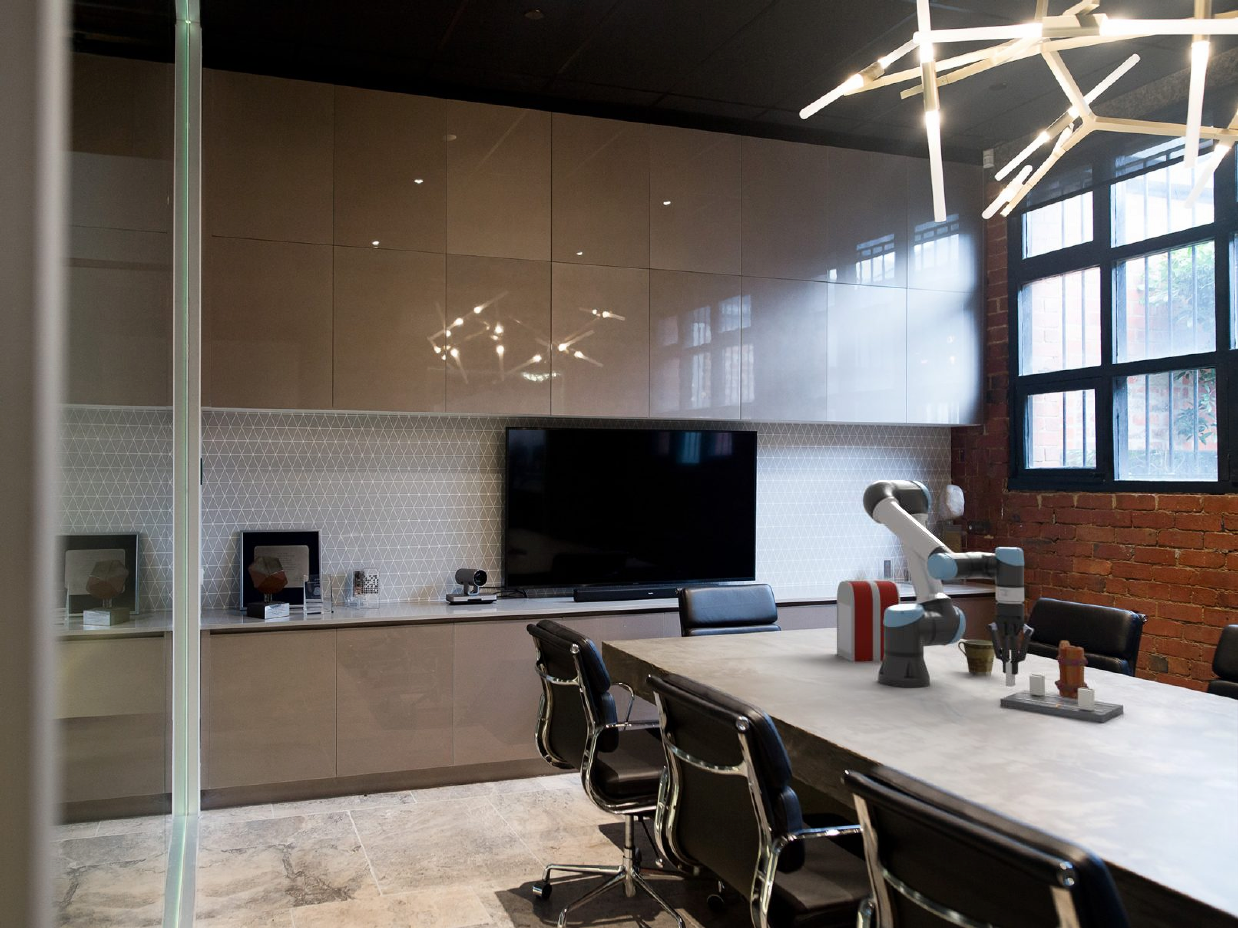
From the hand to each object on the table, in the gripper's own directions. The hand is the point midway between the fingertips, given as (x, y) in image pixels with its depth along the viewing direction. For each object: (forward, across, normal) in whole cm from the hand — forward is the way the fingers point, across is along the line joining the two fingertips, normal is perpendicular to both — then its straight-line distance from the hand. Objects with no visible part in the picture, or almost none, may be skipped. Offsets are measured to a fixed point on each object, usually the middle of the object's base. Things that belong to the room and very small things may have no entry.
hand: (1010, 685), depth 269 cm
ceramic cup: (+4, -24, +30) cm, 38 cm away
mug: (+4, +10, +16) cm, 19 cm away
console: (+4, +15, -4) cm, 16 cm away
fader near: (+1, +23, -9) cm, 25 cm away
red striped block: (+4, -63, +29) cm, 69 cm away
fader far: (+1, +7, 0) cm, 8 cm away
